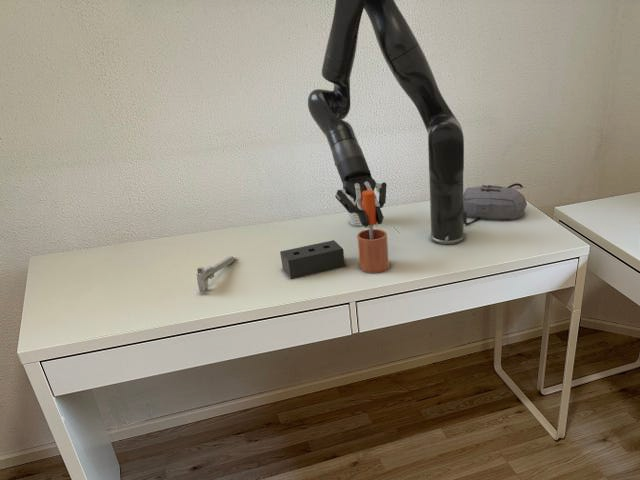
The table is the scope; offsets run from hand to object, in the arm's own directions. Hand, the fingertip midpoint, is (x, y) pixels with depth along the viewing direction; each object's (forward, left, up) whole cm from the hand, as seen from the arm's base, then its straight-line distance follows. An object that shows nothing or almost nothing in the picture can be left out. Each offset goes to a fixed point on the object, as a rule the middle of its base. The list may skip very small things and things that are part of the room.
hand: (373, 224), depth 168 cm
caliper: (+20, -35, -13) cm, 42 cm away
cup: (-26, -22, -13) cm, 36 cm away
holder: (+6, -16, -13) cm, 21 cm away
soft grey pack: (-50, +12, -13) cm, 53 cm away
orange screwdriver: (-1, -2, -7) cm, 8 cm away
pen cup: (-1, -2, -13) cm, 13 cm away
